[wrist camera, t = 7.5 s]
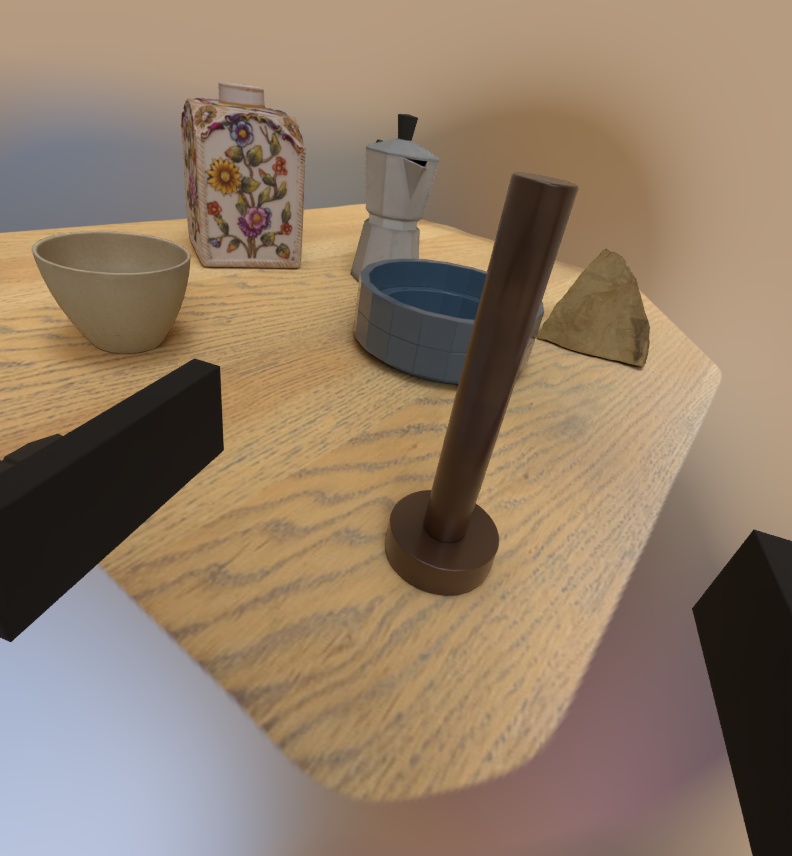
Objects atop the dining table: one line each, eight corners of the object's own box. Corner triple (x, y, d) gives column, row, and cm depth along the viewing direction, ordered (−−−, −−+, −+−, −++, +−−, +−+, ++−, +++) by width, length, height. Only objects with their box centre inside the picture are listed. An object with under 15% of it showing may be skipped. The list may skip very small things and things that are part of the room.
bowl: (556, 367, 48) (578, 308, 45) (442, 410, 38) (460, 338, 35) (436, 306, 58) (447, 254, 54) (318, 328, 47) (323, 265, 44)
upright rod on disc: (511, 561, 26) (661, 199, 16) (439, 616, 23) (576, 197, 13) (436, 500, 29) (524, 166, 19) (363, 540, 26) (426, 157, 16)
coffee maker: (436, 297, 60) (471, 127, 50) (369, 296, 57) (392, 113, 47) (391, 259, 71) (412, 113, 61) (332, 256, 68) (345, 101, 58)
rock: (679, 346, 52) (609, 299, 58) (692, 288, 45) (610, 241, 51) (597, 406, 52) (535, 353, 58) (597, 358, 45) (526, 303, 51)
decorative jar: (302, 270, 61) (310, 97, 51) (202, 269, 56) (190, 76, 46) (277, 242, 69) (280, 89, 60) (188, 239, 64) (175, 70, 54)
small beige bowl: (50, 374, 34) (23, 270, 30) (59, 317, 41) (38, 227, 37) (204, 364, 38) (198, 273, 34) (188, 314, 45) (182, 233, 41)
